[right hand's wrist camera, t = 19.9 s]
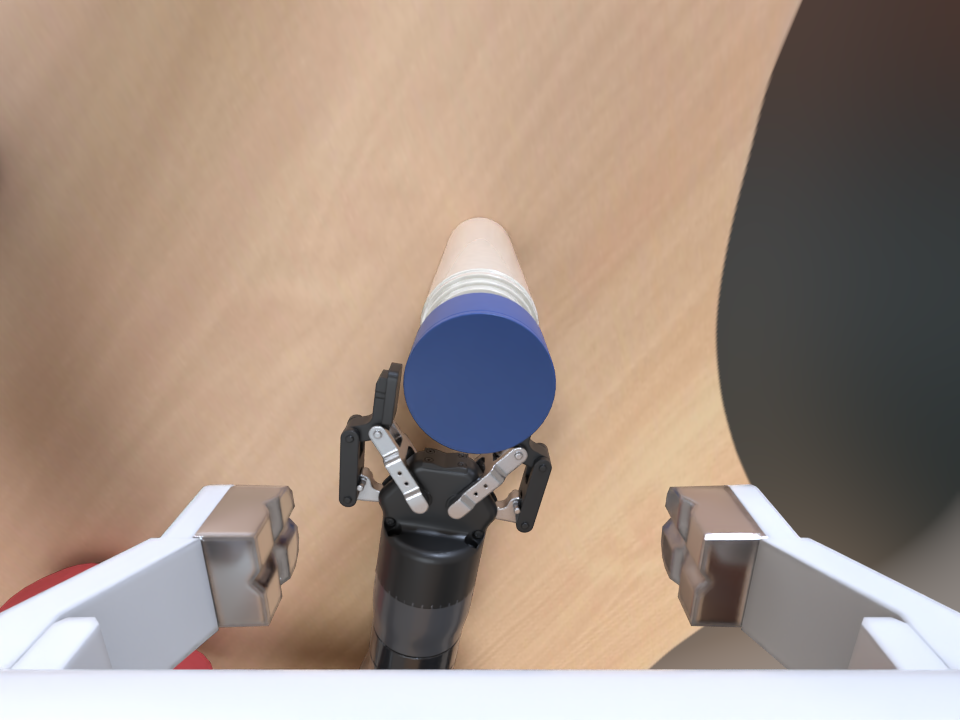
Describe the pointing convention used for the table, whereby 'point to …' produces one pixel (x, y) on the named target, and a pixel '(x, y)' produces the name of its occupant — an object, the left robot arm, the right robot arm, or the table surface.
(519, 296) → the bottle
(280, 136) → the table surface
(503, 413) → the cap
